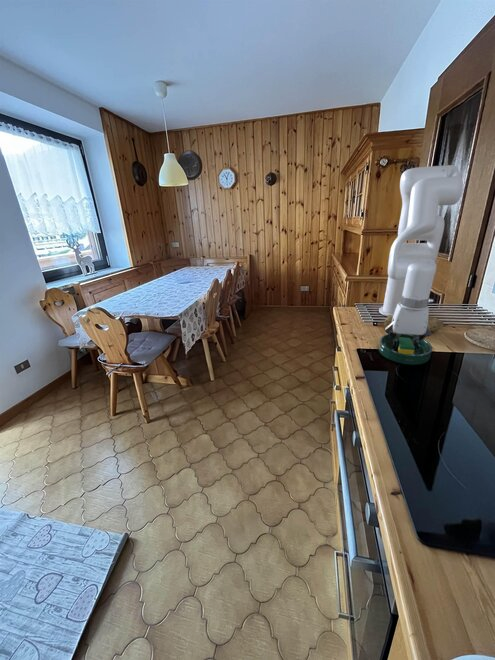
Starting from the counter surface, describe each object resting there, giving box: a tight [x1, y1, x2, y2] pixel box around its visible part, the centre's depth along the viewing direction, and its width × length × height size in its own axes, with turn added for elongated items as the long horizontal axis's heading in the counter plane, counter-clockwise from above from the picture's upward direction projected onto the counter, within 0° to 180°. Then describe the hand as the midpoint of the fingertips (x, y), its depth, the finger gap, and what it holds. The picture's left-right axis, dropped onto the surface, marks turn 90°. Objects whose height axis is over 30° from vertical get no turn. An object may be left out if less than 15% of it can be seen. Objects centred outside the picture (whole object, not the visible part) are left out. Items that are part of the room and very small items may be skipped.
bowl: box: [377, 333, 433, 366], centre depth 99 cm, size 16×16×4 cm
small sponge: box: [397, 337, 415, 355], centre depth 99 cm, size 7×4×4 cm, turn 164°
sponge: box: [383, 315, 445, 332], centre depth 114 cm, size 13×8×20 cm
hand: (403, 349), depth 100 cm, fingers closed on small sponge, 4 cm apart
